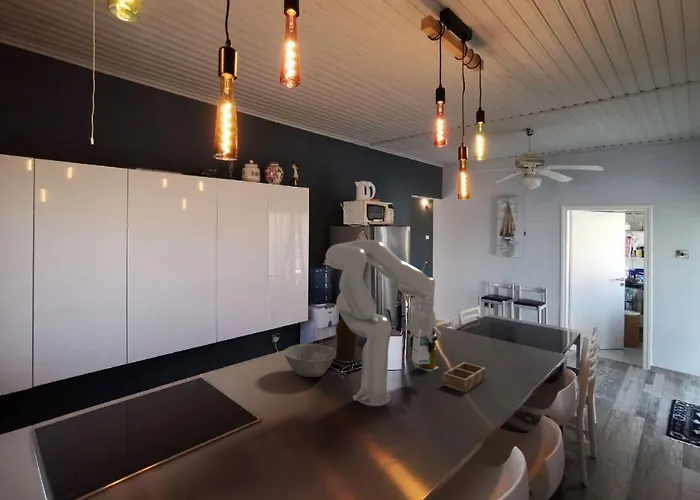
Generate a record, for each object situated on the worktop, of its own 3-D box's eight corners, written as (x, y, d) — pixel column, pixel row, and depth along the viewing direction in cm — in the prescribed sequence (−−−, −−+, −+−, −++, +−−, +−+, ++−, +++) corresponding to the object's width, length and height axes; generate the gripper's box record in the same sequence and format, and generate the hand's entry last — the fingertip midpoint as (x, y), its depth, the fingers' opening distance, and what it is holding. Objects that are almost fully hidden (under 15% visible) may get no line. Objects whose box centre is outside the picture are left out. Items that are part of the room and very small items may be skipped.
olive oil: (360, 358, 184) (361, 307, 183) (352, 365, 174) (354, 312, 173) (339, 355, 188) (341, 305, 186) (331, 362, 178) (332, 309, 176)
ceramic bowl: (311, 390, 147) (312, 364, 146) (271, 374, 161) (272, 351, 160) (346, 373, 164) (347, 351, 164) (308, 361, 178) (308, 340, 178)
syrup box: (417, 364, 154) (419, 329, 153) (411, 359, 159) (413, 325, 159) (430, 364, 155) (432, 328, 155) (423, 359, 161) (425, 325, 160)
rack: (465, 392, 149) (466, 380, 148) (442, 385, 155) (443, 373, 155) (485, 379, 163) (485, 368, 163) (463, 373, 170) (463, 362, 169)
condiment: (439, 367, 176) (440, 342, 175) (428, 371, 170) (429, 345, 169) (426, 363, 181) (427, 338, 180) (415, 367, 175) (416, 341, 174)
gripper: (401, 304, 159) (398, 345, 160) (438, 311, 148) (435, 356, 148) (411, 302, 165) (408, 342, 166) (447, 309, 153) (445, 352, 154)
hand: (421, 348), depth 157 cm, fingers closed on syrup box, 7 cm apart
